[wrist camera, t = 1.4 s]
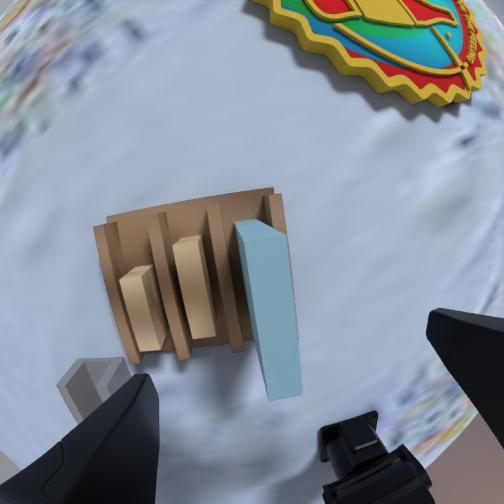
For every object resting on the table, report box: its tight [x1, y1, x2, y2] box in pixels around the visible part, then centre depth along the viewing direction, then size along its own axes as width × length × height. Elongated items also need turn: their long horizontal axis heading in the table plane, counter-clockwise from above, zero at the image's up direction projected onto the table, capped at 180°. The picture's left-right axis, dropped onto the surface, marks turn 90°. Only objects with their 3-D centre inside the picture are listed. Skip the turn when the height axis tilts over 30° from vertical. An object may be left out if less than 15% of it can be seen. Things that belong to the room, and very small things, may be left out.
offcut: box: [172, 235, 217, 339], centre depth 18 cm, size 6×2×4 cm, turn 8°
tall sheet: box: [234, 219, 302, 401], centre depth 15 cm, size 7×2×10 cm, turn 8°
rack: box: [93, 187, 299, 364], centre depth 19 cm, size 11×12×3 cm
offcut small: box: [119, 264, 169, 352], centre depth 18 cm, size 5×2×4 cm, turn 8°
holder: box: [56, 357, 131, 424], centre depth 20 cm, size 10×5×4 cm, turn 8°
